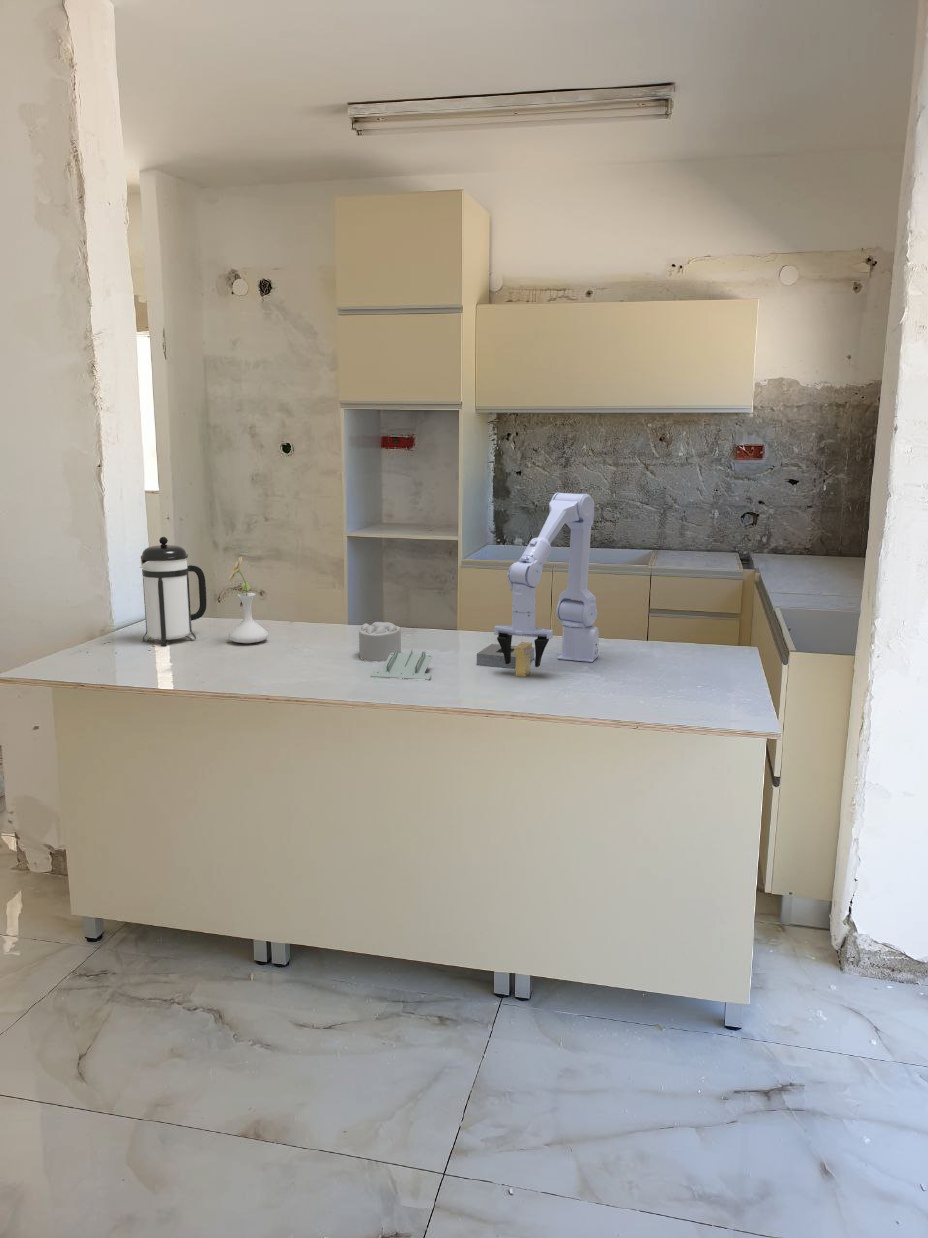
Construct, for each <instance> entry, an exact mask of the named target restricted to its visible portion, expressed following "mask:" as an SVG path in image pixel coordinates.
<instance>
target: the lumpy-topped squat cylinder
mask: <svg viewBox="0 0 928 1238" xmlns="http://www.w3.org/2000/svg"><path fill="white" fill-rule="evenodd" d="M401 632H402V630H401V627H400V626H398V625H395V624H394V623H392V622H387V621H385V622H384V621H383V622H382V621H375V622H372V623H371V624H369V623H363V624H362V625H361V626H360V629H359V630H358V639H359V640H358V643H359V644H358V647H359V649H358V650H359V652H358V654H359V656H360V657H361V658H362V659H361V658H360V657H359V658H360V659H361V660H363V659H364V660H363V661H366V662H373V661H377V662H386V661H387V659H388V657H389V655H390V653H394V650H398V653H402V646H401V640H402V639H401V636H402V635H401V634H402V633H401Z"/></svg>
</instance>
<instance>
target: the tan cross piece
mask: <svg viewBox="0 0 928 1238" xmlns="http://www.w3.org/2000/svg"><path fill="white" fill-rule="evenodd" d="M515 646H516V647H515V648H514V654H516V669H515V677H523V678H526V677H527V676H528V675H530V673H531V662H530V650H531V649H532V647H533V642H530V641H529V642H526V641H522V642H520V643H519V644H518V645H515Z"/></svg>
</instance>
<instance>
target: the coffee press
mask: <svg viewBox="0 0 928 1238" xmlns="http://www.w3.org/2000/svg"><path fill="white" fill-rule="evenodd" d="M158 541H159V543H160V545H153V546H149V547H147V548H145V549H143V551H142V554H141V555H140V561H139V565H138V567H139V569H141V573H142V575H141V576H142V585H143V586H142V587H143V598H144V599H143V600H144V613H145V634H144V635H143V637H142V641H143V642H146V643H147V642H148V641H149V640H150V639H155V640H160V646H161V647H167V643H168V641H170V640H176V639H177V640H178V639H182V638H187V639H188V640H190V641H191V642H194V641H195V640H196V639H197V635H196V634H195V633H194V632H193V630H192V629H193V628H192V621H195V620H198V619H200V618H202V617H203V616H204V615H205V612H206V609H207V588H206V587H207V586H206V577H205V573H204V572H203V570H202V569H201V568H200V567H198V566H197V565H192V564H190V565H188V558H189V554H188V553H187V551H186V550H185V548H183V547H182V546H179V545H173V544H172V545H171V544H167V543H168V541H169V540H168V538H167V537H165V536H162V537H160V538H159V540H158ZM189 572H191V573H192V572H193V573H195V574H196V576H197V579H198V597H199V608H198V610H197V612H195V613H193V614H191V613H192V612H191V600H190V599H191V598H190V596H191V594H190V582H189V581H190V580H189ZM190 633H191V635H192V637H194V639H192V638H191V637H190V636H189V635H190ZM145 636H148V637H149V638H148V639H146V638H145Z"/></svg>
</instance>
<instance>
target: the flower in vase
mask: <svg viewBox="0 0 928 1238" xmlns="http://www.w3.org/2000/svg"><path fill="white" fill-rule="evenodd" d="M242 561H243V556H241V557H240V556H239V557H238V560H237V561H235V565H234V568H233V569H232V570H231V572H230V575H229V577H228V579H227V580H228V582H229V583H230V582H232V581H233V579H234V578H235V576H236V574H238V573H239V574H240V576H241V578H242V579H243V582H242V584H241V585H240V586H241V588H242V590H241V592H240V593H238V594H237V596H238V597H239V599H240V601H241V604H242V605H241V606H242V609H243V610H242V611H243V616H242V620H241V621H240V622H239V624H238V625H237V626H235V627H234V628H233V629H232V630H231V631H230V632H229V633H228V635H227V638H228V640H230V641H231V642H234V643H239V644H255V643H260V642H263V641H265V640H267V639H268V638H269V632H268V631H267V630H266V628H264V627H262V626H261V625H260V624H259V623H257V622H256V620H255V621H254V619H253V616H252V609H253V608H252V605H253V601H254V598H255V597H256V595H257V594H256V593H254V592H248V591H249V590H250V589H251V586H250V585H249V582H248V581H247V580H246V578H245V577H244V575H243V573H242V572H241V570H240V567H241V565H242ZM244 591H245V592H244ZM243 592H244V593H243Z"/></svg>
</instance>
